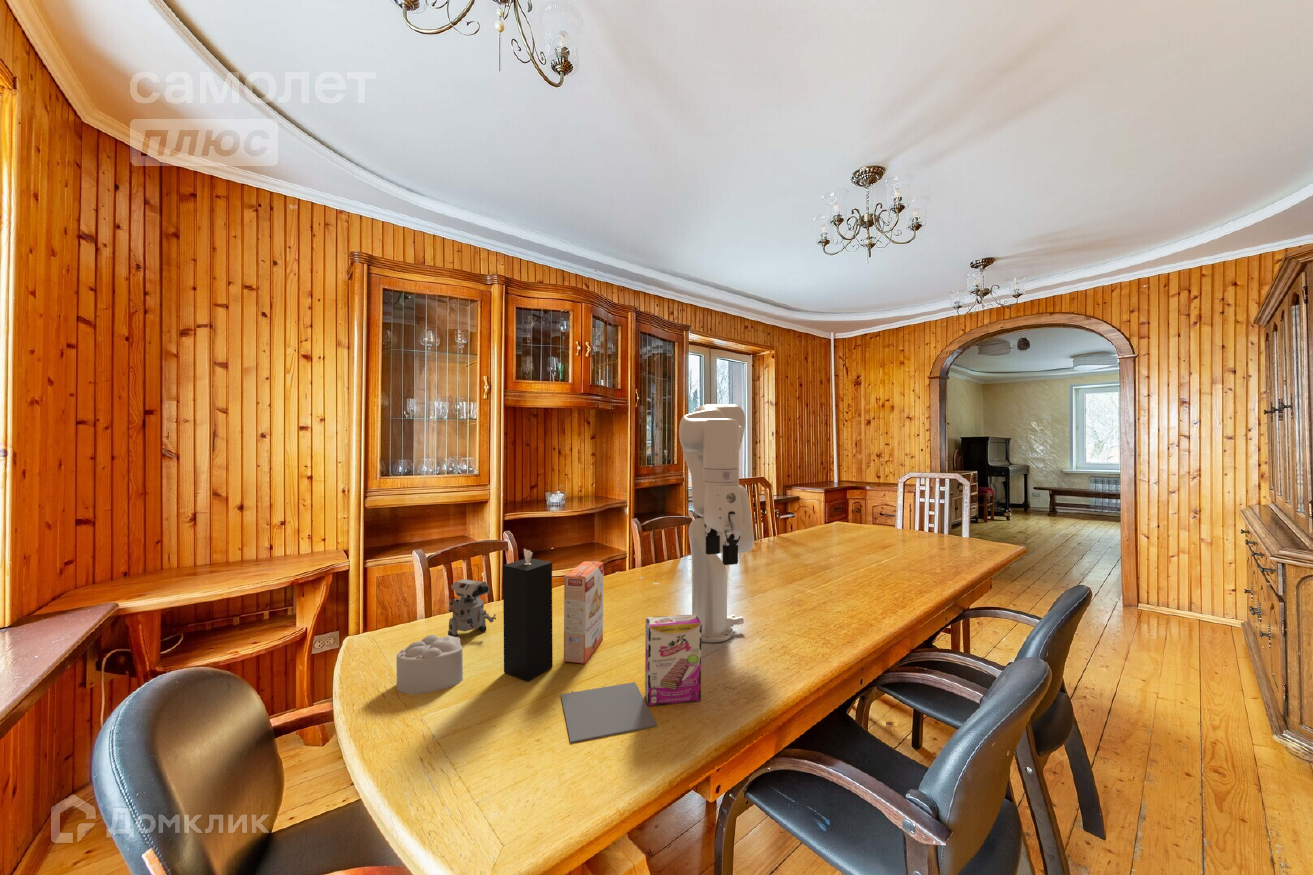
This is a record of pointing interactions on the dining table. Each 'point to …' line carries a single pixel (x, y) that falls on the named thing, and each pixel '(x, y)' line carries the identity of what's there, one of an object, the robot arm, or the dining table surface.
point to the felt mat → (605, 712)
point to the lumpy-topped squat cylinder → (430, 665)
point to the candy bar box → (673, 659)
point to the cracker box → (583, 611)
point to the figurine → (468, 607)
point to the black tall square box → (527, 617)
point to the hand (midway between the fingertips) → (721, 558)
